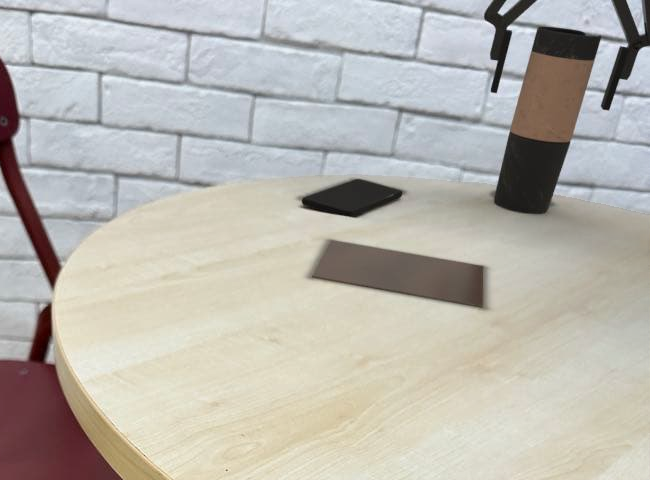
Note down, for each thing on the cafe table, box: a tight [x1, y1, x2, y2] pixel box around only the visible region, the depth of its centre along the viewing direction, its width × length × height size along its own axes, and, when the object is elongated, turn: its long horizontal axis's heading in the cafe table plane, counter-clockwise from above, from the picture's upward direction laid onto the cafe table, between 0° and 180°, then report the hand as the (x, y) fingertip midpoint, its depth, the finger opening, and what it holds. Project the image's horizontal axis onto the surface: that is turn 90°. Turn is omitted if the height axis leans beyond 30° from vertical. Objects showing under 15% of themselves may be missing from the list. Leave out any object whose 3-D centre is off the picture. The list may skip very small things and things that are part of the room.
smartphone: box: [301, 178, 403, 218], centre depth 105 cm, size 7×1×15 cm
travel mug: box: [493, 26, 602, 215], centre depth 106 cm, size 8×8×20 cm
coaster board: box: [311, 239, 485, 309], centre depth 83 cm, size 16×12×1 cm
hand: (548, 100), depth 105 cm, fingers open, 13 cm apart
